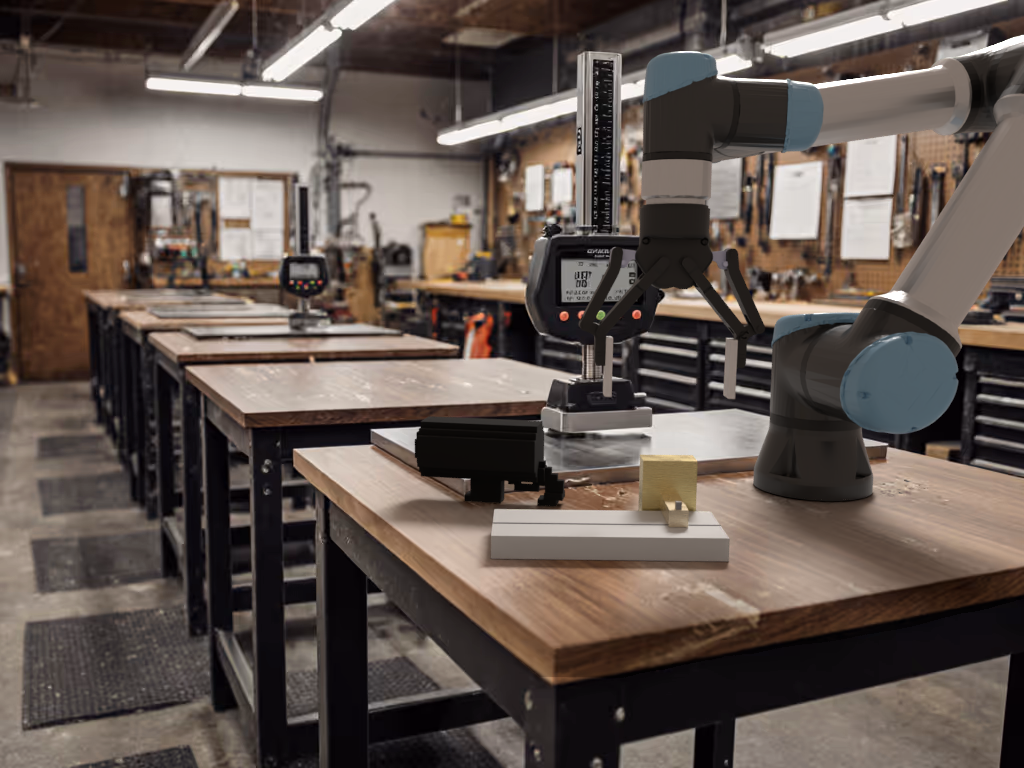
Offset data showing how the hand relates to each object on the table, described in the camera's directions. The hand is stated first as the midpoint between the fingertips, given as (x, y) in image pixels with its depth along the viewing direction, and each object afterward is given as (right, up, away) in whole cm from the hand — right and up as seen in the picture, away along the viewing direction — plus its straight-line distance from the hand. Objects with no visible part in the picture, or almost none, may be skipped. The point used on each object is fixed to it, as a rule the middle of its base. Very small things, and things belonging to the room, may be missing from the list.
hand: (668, 396), depth 106 cm
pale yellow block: (0, -15, -2) cm, 15 cm away
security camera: (-20, -13, +13) cm, 27 cm away
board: (-8, -16, -5) cm, 18 cm away
